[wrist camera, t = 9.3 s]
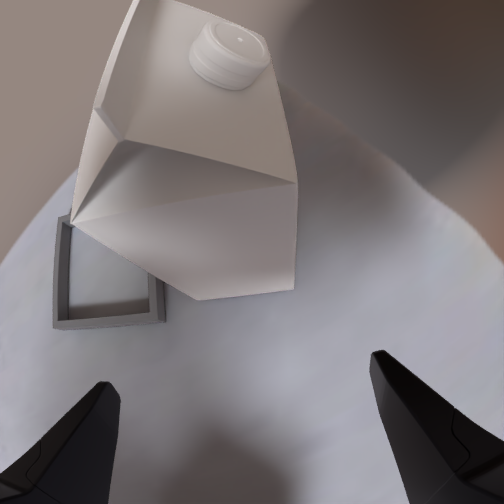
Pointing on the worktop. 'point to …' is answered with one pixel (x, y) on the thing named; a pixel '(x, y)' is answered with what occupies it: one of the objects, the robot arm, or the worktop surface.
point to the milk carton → (191, 156)
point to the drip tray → (113, 321)
